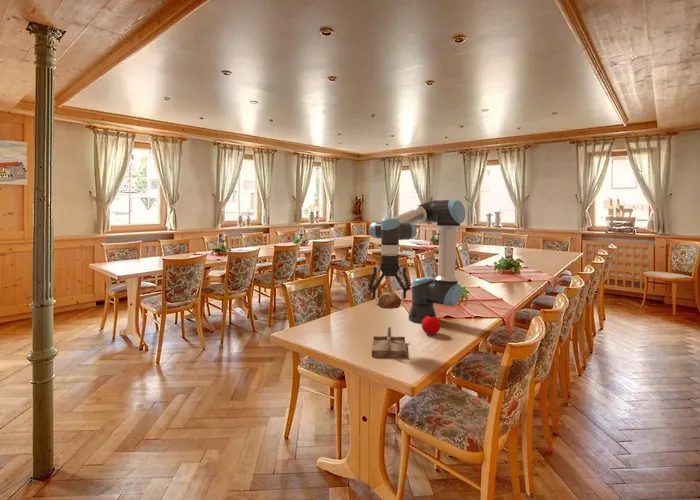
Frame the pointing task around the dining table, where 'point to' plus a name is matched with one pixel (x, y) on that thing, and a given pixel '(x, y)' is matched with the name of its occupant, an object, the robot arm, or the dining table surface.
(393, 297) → the bread roll
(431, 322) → the ornament
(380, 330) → the dining table surface
